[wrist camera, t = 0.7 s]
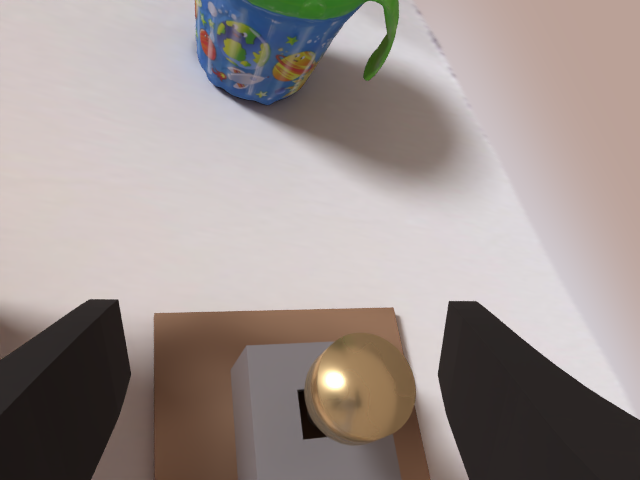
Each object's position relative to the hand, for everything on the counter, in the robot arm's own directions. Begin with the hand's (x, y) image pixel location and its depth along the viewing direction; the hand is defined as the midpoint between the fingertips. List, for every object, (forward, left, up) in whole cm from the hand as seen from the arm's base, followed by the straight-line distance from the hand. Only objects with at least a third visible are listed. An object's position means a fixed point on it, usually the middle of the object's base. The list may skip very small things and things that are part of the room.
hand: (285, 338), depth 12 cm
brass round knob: (0, -5, -11) cm, 12 cm away
